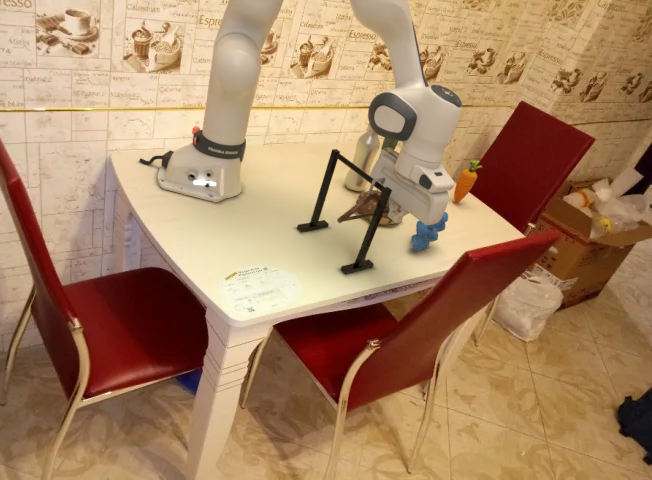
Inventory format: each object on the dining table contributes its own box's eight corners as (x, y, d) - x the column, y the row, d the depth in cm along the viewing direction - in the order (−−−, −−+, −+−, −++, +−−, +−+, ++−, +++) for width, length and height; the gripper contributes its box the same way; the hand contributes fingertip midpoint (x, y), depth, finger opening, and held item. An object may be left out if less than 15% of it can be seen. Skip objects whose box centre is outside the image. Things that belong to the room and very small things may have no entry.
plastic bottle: (363, 196, 156) (386, 133, 144) (341, 189, 156) (362, 126, 144) (364, 187, 161) (386, 125, 149) (344, 180, 161) (364, 119, 149)
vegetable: (382, 183, 166) (405, 123, 154) (369, 179, 166) (391, 119, 155) (384, 177, 170) (406, 119, 158) (371, 173, 170) (392, 115, 158)
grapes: (421, 236, 144) (439, 198, 137) (440, 249, 140) (459, 211, 133) (395, 244, 137) (412, 205, 130) (414, 258, 134) (432, 219, 126)
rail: (345, 275, 121) (376, 193, 108) (296, 228, 132) (318, 149, 119) (372, 267, 126) (405, 188, 113) (323, 223, 137) (347, 147, 124)
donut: (391, 205, 155) (397, 190, 152) (406, 230, 145) (412, 215, 142) (346, 199, 152) (352, 183, 149) (358, 224, 141) (364, 208, 138)
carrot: (457, 198, 169) (477, 156, 160) (466, 207, 166) (487, 164, 157) (445, 198, 167) (465, 156, 158) (453, 206, 164) (474, 163, 155)
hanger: (338, 224, 113) (352, 183, 107) (335, 221, 114) (349, 180, 108) (392, 214, 123) (408, 176, 117) (389, 211, 123) (404, 173, 117)
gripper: (374, 144, 116) (355, 198, 124) (441, 190, 104) (415, 246, 112) (394, 142, 119) (374, 195, 127) (460, 187, 107) (434, 242, 116)
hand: (393, 219), depth 120 cm, fingers closed
